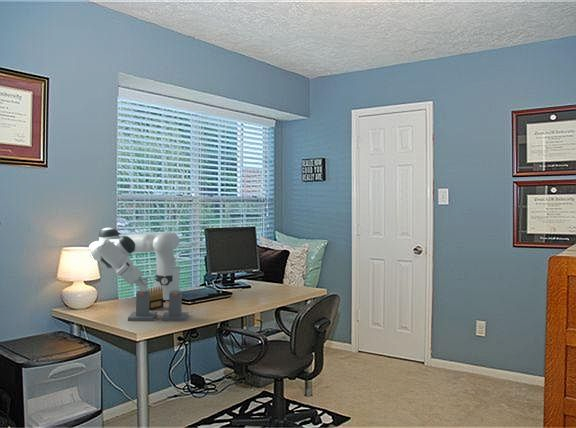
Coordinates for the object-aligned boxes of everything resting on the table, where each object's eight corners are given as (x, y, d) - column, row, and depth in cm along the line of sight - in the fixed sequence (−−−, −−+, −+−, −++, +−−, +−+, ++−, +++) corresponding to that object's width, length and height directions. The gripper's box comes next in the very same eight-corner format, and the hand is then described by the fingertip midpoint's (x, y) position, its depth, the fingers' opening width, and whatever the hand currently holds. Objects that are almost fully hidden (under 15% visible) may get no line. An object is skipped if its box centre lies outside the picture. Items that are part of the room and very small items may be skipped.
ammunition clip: (148, 310, 267) (148, 288, 267) (145, 310, 268) (146, 287, 268) (163, 307, 276) (164, 285, 276) (161, 306, 277) (161, 285, 277)
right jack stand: (164, 314, 259) (165, 264, 258) (188, 314, 261) (189, 265, 260) (161, 320, 247) (162, 268, 246) (186, 320, 249) (187, 268, 248)
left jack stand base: (132, 314, 257) (133, 289, 257) (156, 314, 259) (157, 289, 258) (127, 320, 246) (128, 293, 245) (152, 320, 247) (153, 294, 246)
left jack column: (140, 311, 253) (140, 277, 253) (146, 311, 254) (147, 277, 253) (139, 312, 250) (139, 278, 250) (145, 312, 251) (145, 278, 250)
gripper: (124, 268, 260) (143, 286, 262) (115, 274, 240) (136, 294, 241) (133, 259, 261) (152, 278, 262) (125, 265, 240) (145, 285, 242)
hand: (144, 286), depth 252 cm, fingers open, 4 cm apart
